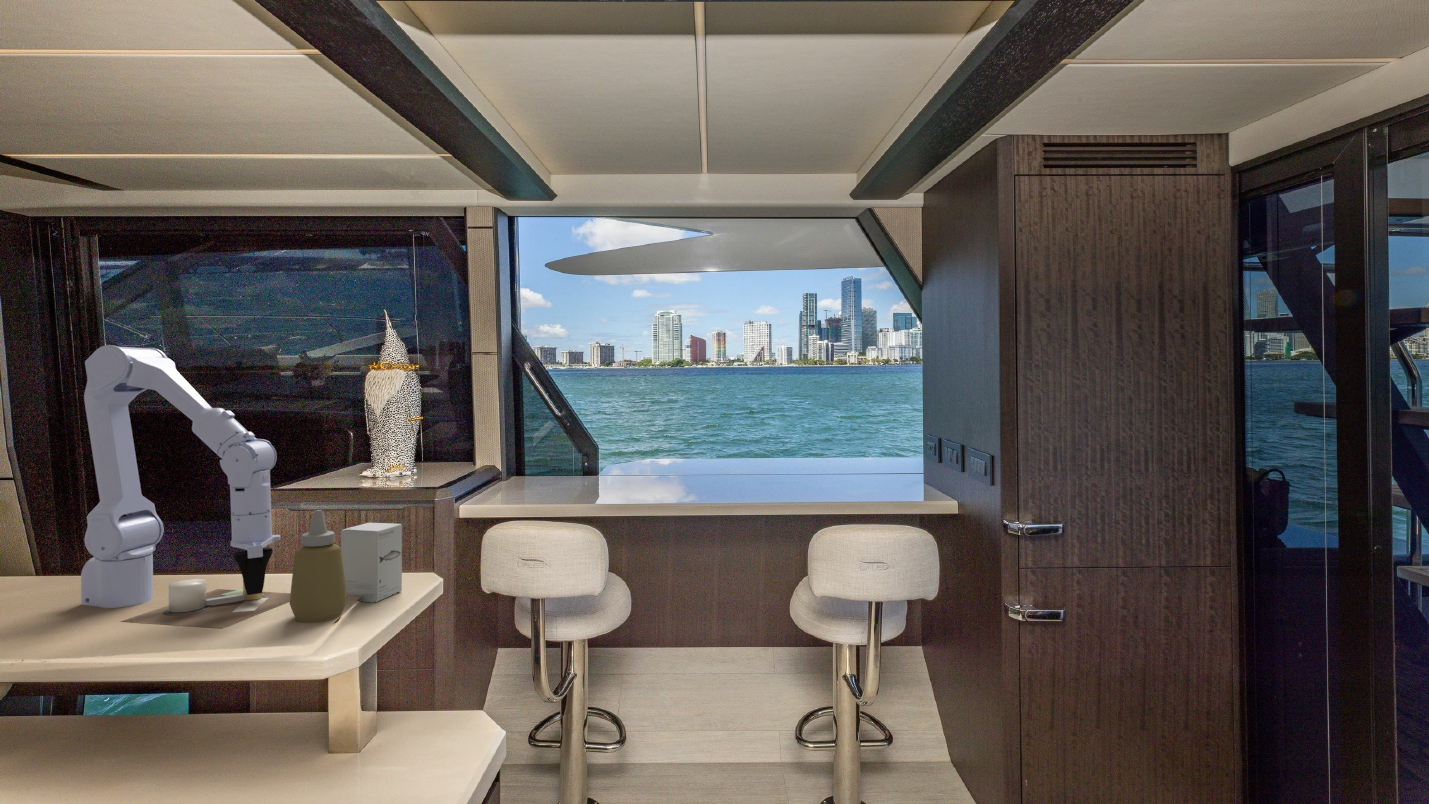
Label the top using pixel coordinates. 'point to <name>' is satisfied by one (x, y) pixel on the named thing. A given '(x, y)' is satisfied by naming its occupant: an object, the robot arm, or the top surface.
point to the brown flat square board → (215, 611)
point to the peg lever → (199, 596)
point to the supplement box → (372, 560)
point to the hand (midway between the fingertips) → (254, 592)
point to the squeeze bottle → (318, 575)
